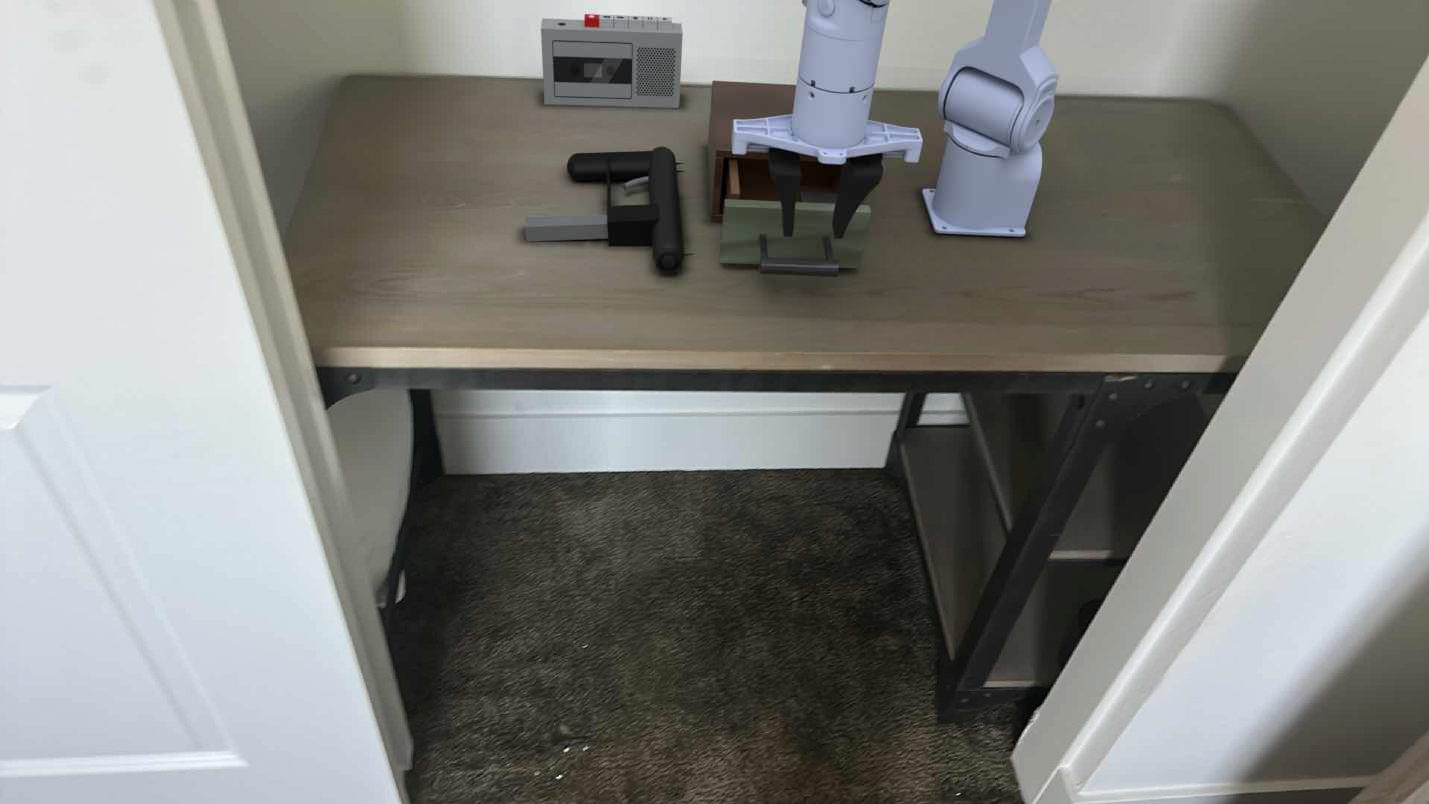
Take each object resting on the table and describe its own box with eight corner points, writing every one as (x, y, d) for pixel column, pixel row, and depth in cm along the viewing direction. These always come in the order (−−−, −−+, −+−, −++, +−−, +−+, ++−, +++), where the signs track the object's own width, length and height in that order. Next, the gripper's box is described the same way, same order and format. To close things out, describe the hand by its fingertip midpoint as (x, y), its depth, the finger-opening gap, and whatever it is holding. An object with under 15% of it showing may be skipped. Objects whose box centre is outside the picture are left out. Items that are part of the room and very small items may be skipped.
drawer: (867, 303, 95) (879, 245, 90) (721, 297, 94) (727, 239, 90) (843, 192, 108) (852, 138, 104) (715, 187, 108) (720, 132, 103)
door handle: (519, 255, 94) (697, 249, 95) (531, 145, 108) (685, 140, 109) (524, 285, 96) (697, 278, 97) (535, 173, 111) (685, 168, 112)
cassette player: (544, 104, 120) (540, 19, 113) (545, 93, 122) (541, 9, 115) (679, 108, 122) (683, 24, 115) (677, 97, 123) (681, 14, 117)
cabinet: (853, 227, 105) (867, 156, 100) (710, 221, 104) (716, 149, 99) (837, 154, 116) (848, 87, 110) (707, 148, 115) (712, 80, 110)
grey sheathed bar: (833, 223, 102) (839, 193, 100) (836, 235, 100) (841, 205, 98) (739, 219, 101) (742, 188, 99) (740, 231, 100) (743, 201, 98)
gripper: (741, 96, 73) (726, 255, 82) (943, 106, 74) (906, 262, 83) (736, 52, 78) (723, 206, 87) (925, 62, 79) (892, 214, 88)
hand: (812, 231), depth 86 cm, fingers open, 4 cm apart
